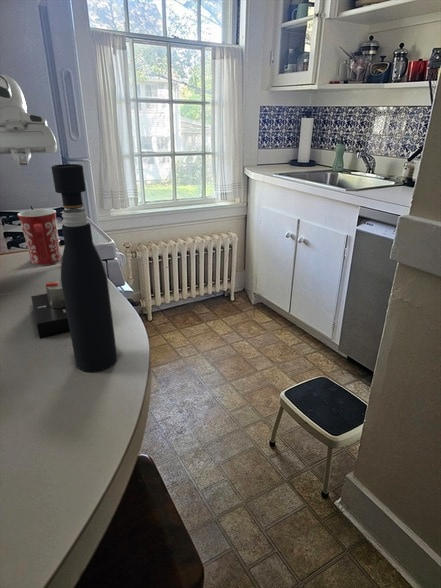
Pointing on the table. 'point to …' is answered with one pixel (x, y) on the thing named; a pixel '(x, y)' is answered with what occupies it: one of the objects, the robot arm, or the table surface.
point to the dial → (55, 294)
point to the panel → (49, 317)
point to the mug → (41, 235)
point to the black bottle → (83, 278)
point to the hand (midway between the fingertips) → (23, 164)
